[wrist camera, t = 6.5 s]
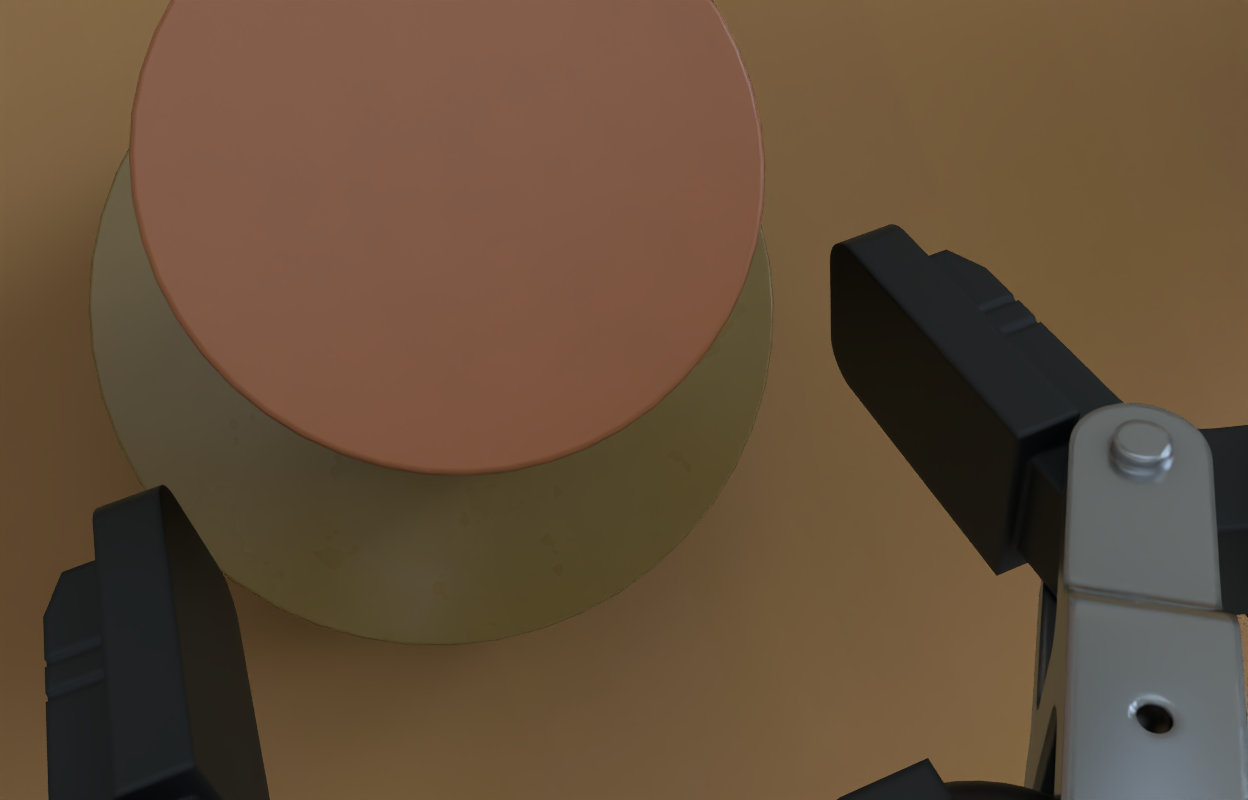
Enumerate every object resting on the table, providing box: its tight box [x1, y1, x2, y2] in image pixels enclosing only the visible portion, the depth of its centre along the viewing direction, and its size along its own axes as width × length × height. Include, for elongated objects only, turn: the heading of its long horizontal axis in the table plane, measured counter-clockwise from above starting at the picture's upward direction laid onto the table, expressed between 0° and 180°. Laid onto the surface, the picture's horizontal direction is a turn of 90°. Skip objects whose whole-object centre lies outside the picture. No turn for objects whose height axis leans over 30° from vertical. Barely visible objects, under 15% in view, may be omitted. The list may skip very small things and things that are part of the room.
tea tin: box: [129, 0, 765, 476], centre depth 16 cm, size 6×6×11 cm
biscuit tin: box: [89, 149, 773, 645], centre depth 25 cm, size 12×12×6 cm
